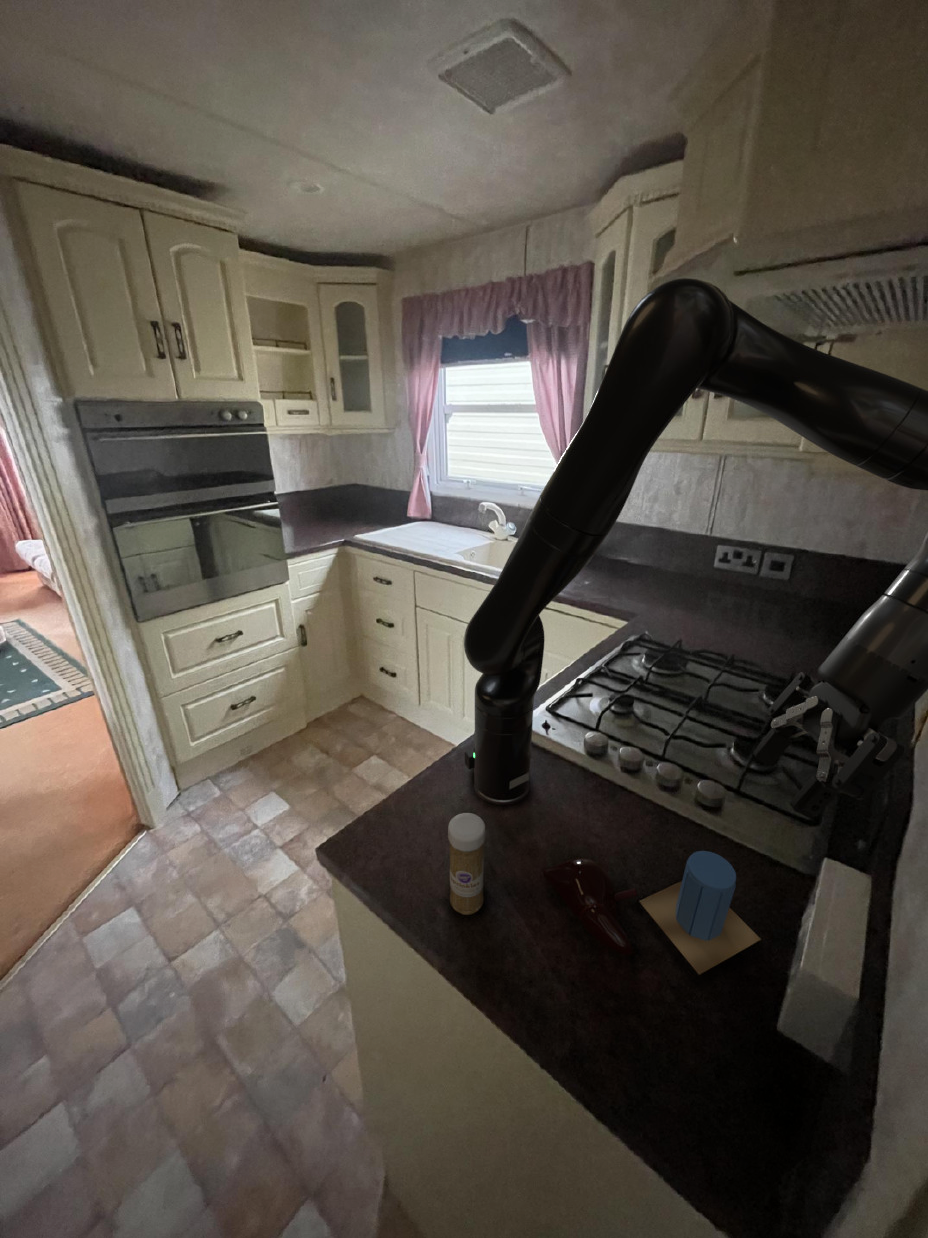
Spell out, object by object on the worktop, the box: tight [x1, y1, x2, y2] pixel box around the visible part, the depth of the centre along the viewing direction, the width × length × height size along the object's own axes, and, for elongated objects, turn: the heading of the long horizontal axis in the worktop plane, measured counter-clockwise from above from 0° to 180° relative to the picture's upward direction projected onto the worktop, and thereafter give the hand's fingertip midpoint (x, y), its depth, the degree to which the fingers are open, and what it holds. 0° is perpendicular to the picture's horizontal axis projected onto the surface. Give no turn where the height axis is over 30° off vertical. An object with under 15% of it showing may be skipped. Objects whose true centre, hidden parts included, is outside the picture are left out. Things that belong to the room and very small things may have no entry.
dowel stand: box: [639, 880, 762, 975], centre depth 63 cm, size 10×10×9 cm
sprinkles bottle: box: [447, 812, 486, 916], centre depth 65 cm, size 5×5×14 cm
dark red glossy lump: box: [542, 857, 639, 956], centre depth 65 cm, size 6×12×11 cm
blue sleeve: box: [676, 850, 737, 941], centre depth 62 cm, size 5×5×9 cm
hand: (779, 784), depth 53 cm, fingers open, 8 cm apart
